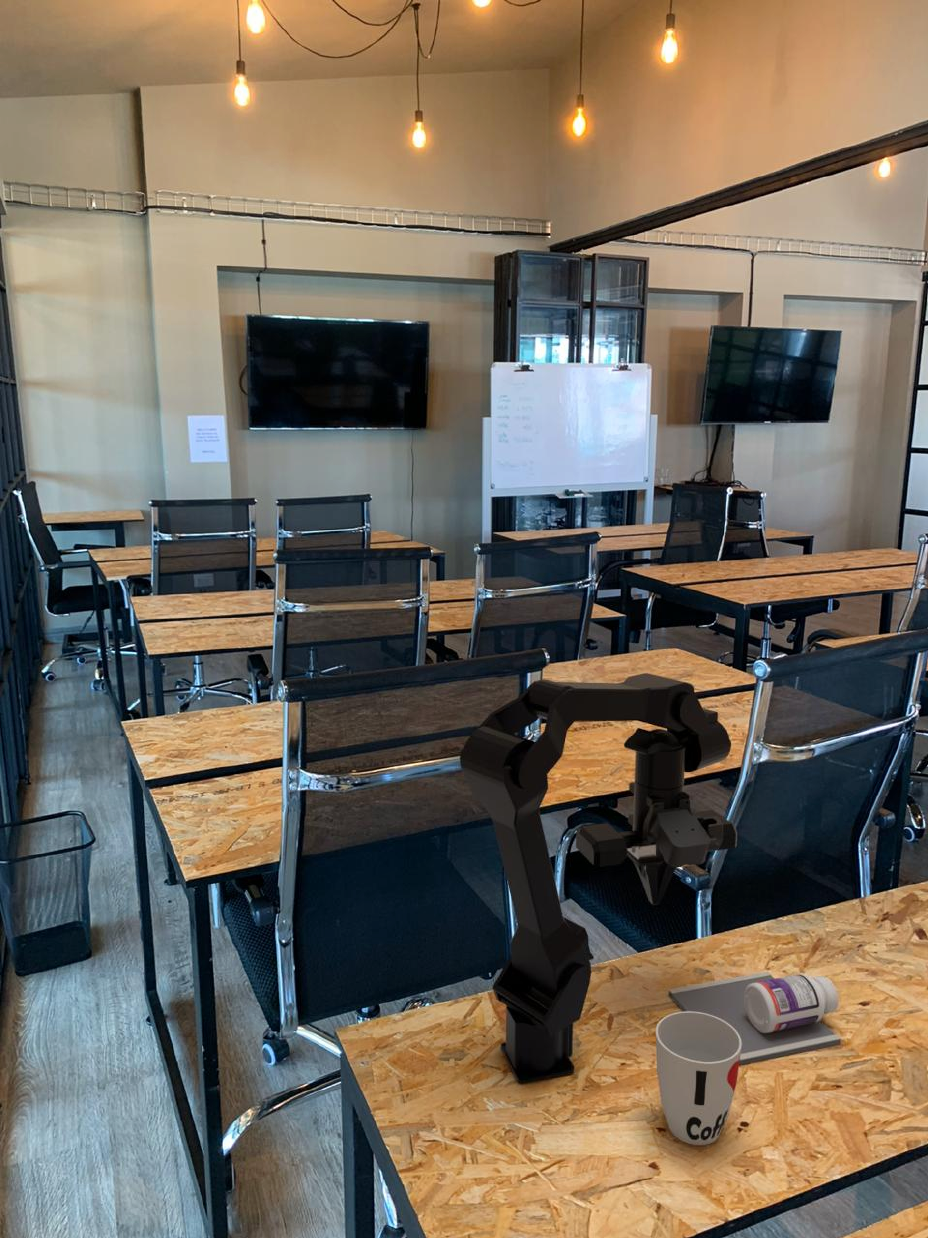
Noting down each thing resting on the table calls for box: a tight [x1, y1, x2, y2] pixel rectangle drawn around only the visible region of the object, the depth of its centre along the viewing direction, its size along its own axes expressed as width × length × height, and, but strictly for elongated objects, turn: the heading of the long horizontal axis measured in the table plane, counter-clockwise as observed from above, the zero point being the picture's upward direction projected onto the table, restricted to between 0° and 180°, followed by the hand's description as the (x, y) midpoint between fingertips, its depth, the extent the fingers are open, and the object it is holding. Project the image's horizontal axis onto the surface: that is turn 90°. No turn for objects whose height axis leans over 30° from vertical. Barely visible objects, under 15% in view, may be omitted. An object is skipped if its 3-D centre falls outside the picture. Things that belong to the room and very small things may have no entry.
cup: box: [655, 1011, 742, 1146], centre depth 91 cm, size 8×8×10 cm
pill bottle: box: [744, 973, 840, 1033], centre depth 107 cm, size 5×5×10 cm
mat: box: [668, 971, 842, 1066], centre depth 109 cm, size 14×14×1 cm
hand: (654, 903), depth 112 cm, fingers closed
